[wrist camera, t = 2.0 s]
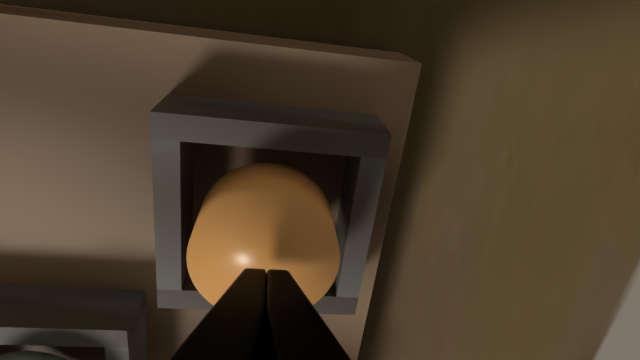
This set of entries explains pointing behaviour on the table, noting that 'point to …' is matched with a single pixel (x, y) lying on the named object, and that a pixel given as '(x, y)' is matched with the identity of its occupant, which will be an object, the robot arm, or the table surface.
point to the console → (173, 169)
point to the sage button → (30, 356)
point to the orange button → (264, 231)
